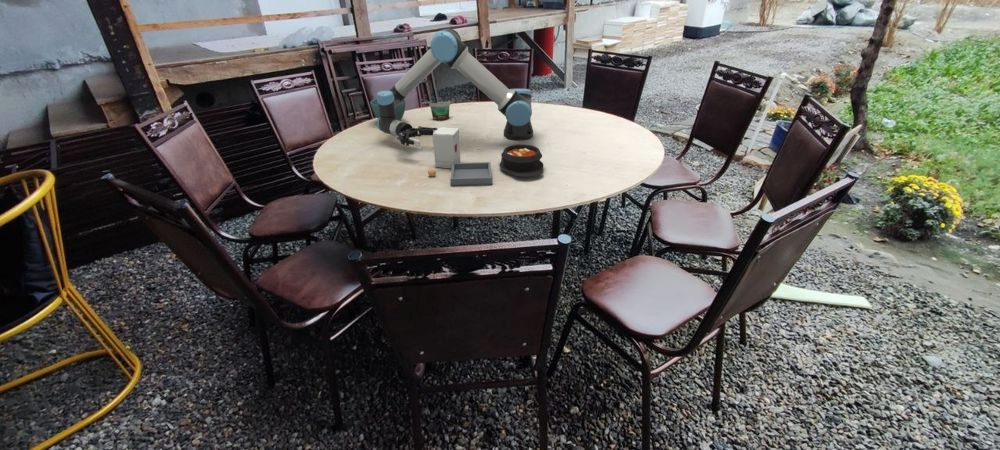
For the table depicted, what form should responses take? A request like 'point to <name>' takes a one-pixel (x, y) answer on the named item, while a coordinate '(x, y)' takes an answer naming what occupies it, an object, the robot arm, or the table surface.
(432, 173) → the ball
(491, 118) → the table surface
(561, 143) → the table surface
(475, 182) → the tray
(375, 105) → the plant pot
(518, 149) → the casserole
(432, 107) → the food container
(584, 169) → the table surface
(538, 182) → the table surface
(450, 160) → the supplement box
